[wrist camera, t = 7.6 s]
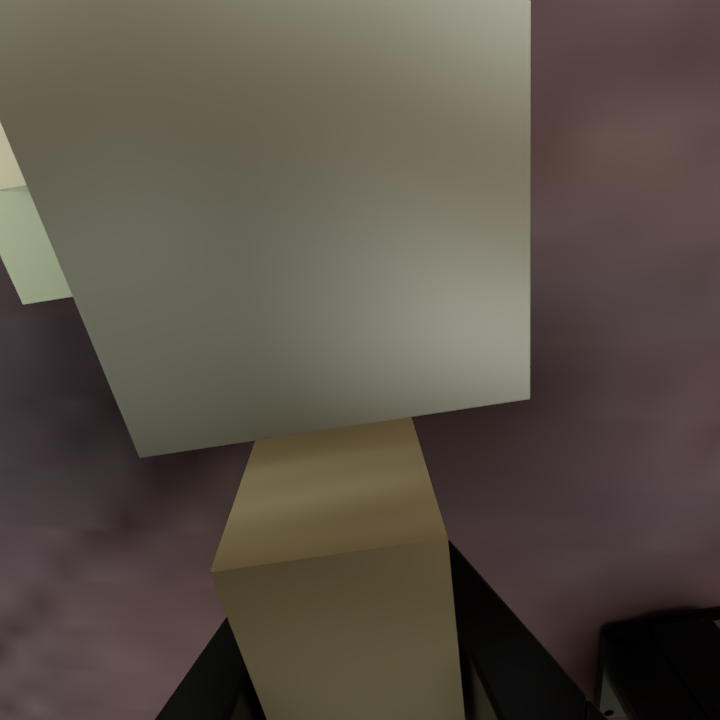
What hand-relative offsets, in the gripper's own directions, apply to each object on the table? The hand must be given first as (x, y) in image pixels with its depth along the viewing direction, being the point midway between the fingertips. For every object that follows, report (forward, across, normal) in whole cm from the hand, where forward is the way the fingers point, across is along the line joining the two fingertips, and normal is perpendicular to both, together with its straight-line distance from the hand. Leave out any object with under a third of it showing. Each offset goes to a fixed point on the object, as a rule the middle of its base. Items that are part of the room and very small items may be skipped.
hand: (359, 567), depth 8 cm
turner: (+1, 0, -1) cm, 2 cm away
